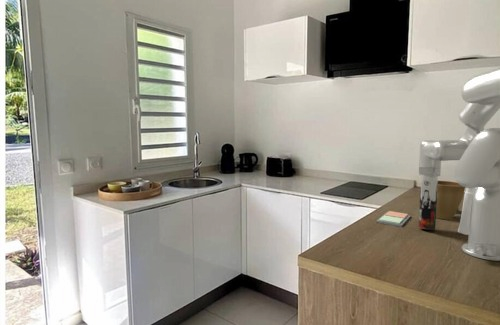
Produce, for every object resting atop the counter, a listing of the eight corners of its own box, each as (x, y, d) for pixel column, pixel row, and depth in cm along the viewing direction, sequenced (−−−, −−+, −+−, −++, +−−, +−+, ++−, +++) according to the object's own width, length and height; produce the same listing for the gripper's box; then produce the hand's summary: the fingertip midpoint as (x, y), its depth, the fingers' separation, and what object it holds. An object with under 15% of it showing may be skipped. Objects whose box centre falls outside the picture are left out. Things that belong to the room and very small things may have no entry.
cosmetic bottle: (478, 233, 127) (483, 177, 124) (473, 236, 123) (478, 179, 120) (460, 229, 131) (465, 175, 129) (455, 232, 127) (460, 177, 125)
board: (401, 226, 134) (401, 223, 134) (376, 222, 140) (376, 219, 139) (410, 217, 148) (410, 214, 148) (387, 213, 154) (387, 210, 154)
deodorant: (415, 226, 132) (416, 189, 131) (426, 224, 134) (427, 188, 133) (427, 230, 126) (429, 192, 125) (438, 228, 128) (440, 191, 127)
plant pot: (467, 223, 139) (470, 187, 137) (427, 220, 144) (430, 184, 142) (457, 214, 153) (460, 181, 151) (422, 211, 158) (424, 179, 156)
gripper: (437, 174, 119) (435, 222, 121) (443, 170, 133) (440, 213, 134) (414, 173, 124) (412, 219, 125) (422, 169, 137) (420, 211, 139)
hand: (427, 216), depth 130 cm, fingers closed on deodorant, 5 cm apart
